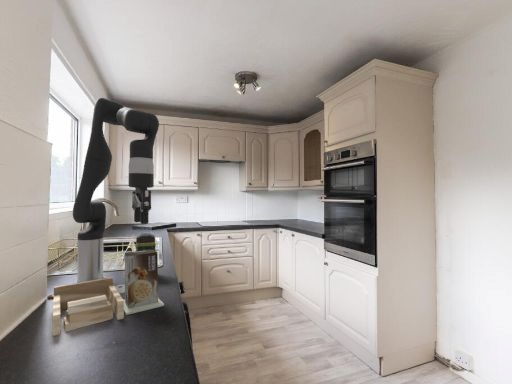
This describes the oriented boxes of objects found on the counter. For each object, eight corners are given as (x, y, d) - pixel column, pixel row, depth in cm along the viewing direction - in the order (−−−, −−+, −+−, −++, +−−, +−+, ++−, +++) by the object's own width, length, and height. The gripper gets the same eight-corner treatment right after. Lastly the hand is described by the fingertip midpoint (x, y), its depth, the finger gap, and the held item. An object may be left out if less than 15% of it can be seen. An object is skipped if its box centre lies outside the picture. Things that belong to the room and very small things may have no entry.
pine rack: (53, 309, 82) (53, 286, 82) (112, 297, 92) (112, 277, 92) (52, 336, 66) (52, 307, 66) (123, 318, 76) (123, 293, 76)
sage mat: (118, 302, 87) (118, 300, 87) (153, 294, 94) (153, 293, 94) (126, 315, 78) (126, 312, 78) (164, 305, 84) (164, 303, 84)
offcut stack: (63, 325, 72) (63, 302, 73) (108, 313, 80) (108, 293, 80) (65, 332, 68) (65, 309, 68) (113, 319, 75) (113, 298, 76)
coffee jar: (155, 277, 114) (155, 234, 115) (135, 280, 111) (135, 235, 112) (154, 272, 123) (154, 231, 124) (136, 274, 120) (136, 232, 121)
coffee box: (153, 296, 91) (154, 248, 91) (158, 302, 86) (158, 252, 86) (124, 302, 86) (124, 252, 86) (127, 308, 81) (127, 255, 81)
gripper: (159, 171, 83) (159, 224, 83) (147, 175, 95) (147, 220, 94) (133, 170, 79) (133, 225, 78) (124, 173, 90) (123, 222, 90)
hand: (141, 222), depth 86 cm, fingers open, 8 cm apart
